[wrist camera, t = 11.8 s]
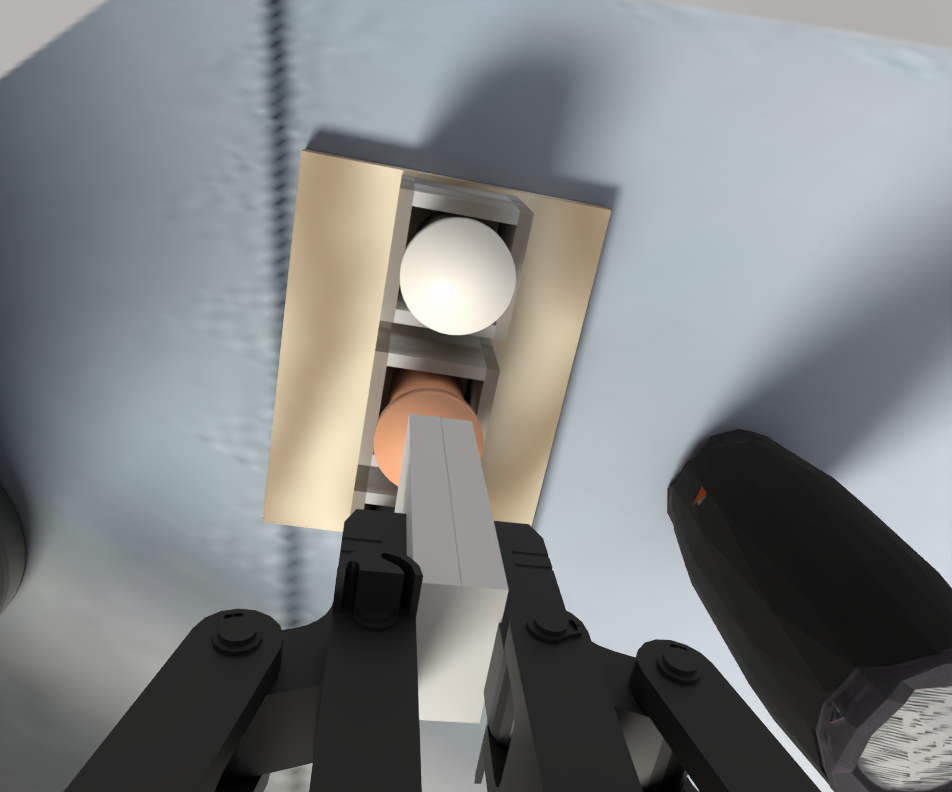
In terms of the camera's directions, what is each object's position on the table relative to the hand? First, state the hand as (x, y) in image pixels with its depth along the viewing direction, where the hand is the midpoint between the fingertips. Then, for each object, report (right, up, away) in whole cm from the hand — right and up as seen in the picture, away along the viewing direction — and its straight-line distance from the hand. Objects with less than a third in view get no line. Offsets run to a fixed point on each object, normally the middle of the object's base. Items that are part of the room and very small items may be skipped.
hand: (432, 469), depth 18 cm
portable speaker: (+16, -4, +27) cm, 31 cm away
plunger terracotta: (-1, +2, +20) cm, 20 cm away
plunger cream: (0, +9, +18) cm, 20 cm away
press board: (-2, +3, +22) cm, 23 cm away
